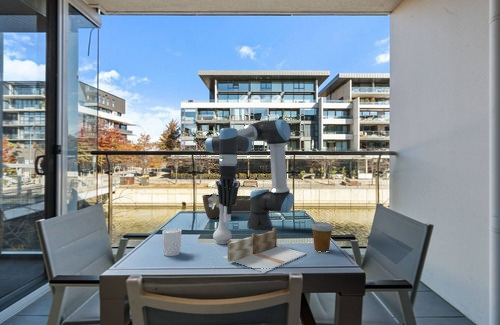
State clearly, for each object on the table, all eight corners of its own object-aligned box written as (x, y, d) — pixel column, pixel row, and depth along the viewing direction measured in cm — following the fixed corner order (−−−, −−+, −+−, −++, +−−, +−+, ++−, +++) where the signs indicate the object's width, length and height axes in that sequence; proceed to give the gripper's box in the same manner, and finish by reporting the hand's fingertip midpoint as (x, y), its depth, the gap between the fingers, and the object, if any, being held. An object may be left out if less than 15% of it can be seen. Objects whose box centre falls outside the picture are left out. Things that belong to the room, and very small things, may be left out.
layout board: (266, 244, 133) (266, 242, 133) (306, 254, 118) (306, 253, 118) (223, 258, 112) (223, 256, 112) (264, 273, 97) (264, 271, 97)
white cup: (164, 250, 121) (164, 228, 121) (182, 250, 122) (182, 228, 122) (160, 257, 113) (160, 233, 113) (179, 256, 114) (179, 232, 114)
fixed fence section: (274, 245, 129) (274, 227, 129) (277, 246, 127) (277, 228, 127) (250, 253, 117) (250, 233, 117) (253, 254, 116) (254, 234, 116)
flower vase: (220, 236, 146) (220, 189, 146) (243, 243, 133) (243, 192, 133) (199, 240, 137) (199, 191, 137) (221, 249, 124) (222, 194, 124)
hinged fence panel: (250, 253, 116) (250, 236, 116) (252, 253, 115) (252, 237, 115) (227, 260, 107) (227, 243, 107) (230, 261, 106) (230, 243, 106)
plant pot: (199, 219, 189) (199, 196, 189) (206, 215, 203) (206, 194, 203) (219, 220, 186) (220, 197, 186) (225, 216, 201) (225, 194, 201)
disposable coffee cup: (333, 248, 126) (333, 223, 126) (332, 255, 117) (332, 227, 117) (312, 246, 130) (312, 221, 130) (309, 252, 121) (310, 225, 121)
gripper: (211, 164, 116) (210, 220, 115) (232, 165, 107) (231, 225, 106) (224, 165, 121) (223, 218, 121) (245, 165, 112) (244, 222, 112)
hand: (227, 221), depth 114 cm, fingers closed
